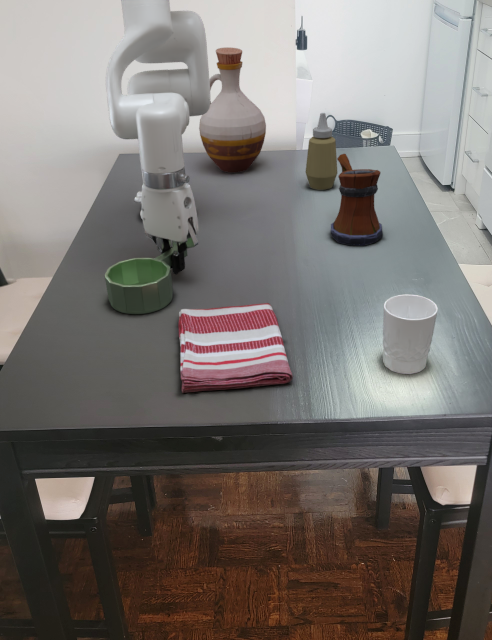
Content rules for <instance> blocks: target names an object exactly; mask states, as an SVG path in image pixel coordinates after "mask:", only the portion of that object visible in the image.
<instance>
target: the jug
mask: <svg viewBox="0 0 492 640" xmlns="http://www.w3.org/2000/svg"><path fill="white" fill-rule="evenodd" d="M215 54H216V57H217V61H218V62H216V66H217V69H218V71H219V73H215V74H213V75H211V77H209V81H210V91H211V90H212V87H213V85H214V83H215V82H216V81H220V82H221V89H220V92H219V93H218V95H216V97H215V98H214V100H213V101H211V100H210V107H209V110H208V111H207V113H205V114H203V115H200V119H199V127H198V130H199V137H200V139H201V142H202V145H203V148H204V150H205V152H206V155H208V157H209V159H210V160H211V161H212V162H213V163H214V165H216V167H217V168H218V169H219V170H220V171H222V172H223V173H230V174H231V173H232V174H234V173H242V172H246V171H248V170H249V169H250V168H251V166H252V165H253V164H254V163H255V161H256V160H257V158H258V157H259V155H260V154H261V151H262V149H263V145H264V144H265V139H266V134H267V123H266V119H265V116H264V114H263V112H262V110H261V109H260V108H259V107H258V106H257V105H256V104H255V103H254V102H253V101H252V100H251V99H250V98H248V97H247V96H246V94H245V93H244V92H243V91H242V90H241V87H240V75H241V70H242V68H243V61H242V55H243V50H242V49H240V48H237V47H218V48H216V49H215Z"/></svg>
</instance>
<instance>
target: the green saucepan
mask: <svg viewBox="0 0 492 640" xmlns="http://www.w3.org/2000/svg"><path fill="white" fill-rule="evenodd" d="M179 245H180V242H179ZM171 255H173V248H171V249H169V250H168V251H166V252H165V253H163V254H161V253H160V254H159V255H158V256H156V257H155V258H154V257H133V258H129V259H125V260H120V261H118V262H116V263H115V264H113V265H111V266H109V267H108V268H107V269H106V272H105V274H104V280H105V286H106V292H107V298H108V301H109V303H110V306H111V308H113V310H115V311H117V312H119V313H123V314H126V315H145V314H150V313H154V312H158V311H160V310H162V309H164V308H165V307H167V306H168V305H170V303H171V302H172V300H173V292H174V289H173V279H172V271H171V270H172V269H170V267H171V266H172V261H171ZM186 257H188V249H187V250H186V251H184V258H185V259H186Z"/></svg>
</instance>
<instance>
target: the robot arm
mask: <svg viewBox="0 0 492 640" xmlns="http://www.w3.org/2000/svg"><path fill="white" fill-rule="evenodd" d="M120 1H121V10H122V18H123V28H124V31H123V36H122V38H121V40H120V41H119V42H118V43H117V45H116V47H115V48H114V50H113V51H112V53H111V55H110V58H109V61H108V63H107V67H106V72H105V92H106V100H107V111H108V119H109V123H110V127H111V130H112V132H113V133H114V135H115V136H116V137H118V138H119V139H122V140H137V146H138V152H139V161H140V169H141V177H142V184H141V191H140V190H139V191H137V192H136V196H135V197H134V199H133V201H134V202H135V203H138V204H141V209H140V212H139V215H140V218H141V219H142V225H143V228H144V233H143V234H144V235H145V236H146V237H147V238H149V239H150V240H152V241H153V243H154V244H155V245H156V249H157V250H158V253H159V252H160V255H161V254H163V253H165V252H166V251H168V250H169V249H171V248H173V255H171V261H172V266H171V267H170V269H171V270H172V271H171V272H172V275H176V276H177V275H178V274H180V273H181V272H183V271H184V270H185V269H186V261H185V259H186V257H185V258H184V251H186V250H187V251H188V249H192V248H194V247H197V246H198V245H199V240H198V237H197V235H198V234H199V229H200V228H199V219H198V212H197V207H196V202H195V197H194V194H193V190H192V187H191V185H190V184H189V182H190V179H191V178H190V177H191V176H190V175H187V174H186V166H185V155H184V146H183V144H184V143H183V135H184V133H185V132H186V129H187V127H188V126H189V124H190V121H191V120H190V119H191V118H190V117H199V116H202V115H203V114H205V113H207V111H208V110H209V107H210V101H211V90H210V81H209V79H210V71H209V69H210V68H209V57H208V45H207V35H206V29H205V24H204V21H203V19H202V18H201V16H200V14H198V13H197V12H195V11H193V10H171V5H170V0H120ZM134 61H136V62H137V63H140V64H170V63H172V64H173V63H183V64H185V65H186V67H187V68H176V69H175V68H173V69H155V70H154V69H153V70H144V71H141V72H137V73H135V74H134V75H131V77H130V78H129V80H128V82H127V86H126V87H127V88H126V90H127V91H126V92H127V94H123V91H122V81H123V76H124V73H125V72H126V69H127V68H128V67H129V65H131V64H132V63H133V62H134ZM179 243H180V245H179Z"/></svg>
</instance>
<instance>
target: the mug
mask: <svg viewBox="0 0 492 640" xmlns="http://www.w3.org/2000/svg"><path fill="white" fill-rule="evenodd" d="M337 162H339V164H340V165H339V166H340V167H341V173H339V174H338V175H337V176H338V177H337V178H338V180H339V184H340V185H339V188H338V190H339V193H340V195H341V197H340V206H339V210H338V213H337V215H336V217H335V220H334V221H333V222H332V223H330V235H331V237H332V238H333V239H334V240H335V241H336V242H337V243H338V244H342V245H347V246H360V247H361V246H362V247H364V246H367V245H371V244H375V243H376V242H378V241H379V240H380V239H382V238H383V236H384V234H383V233H384V232H383V224H382V223H380V221H379V218H378V215H377V211H376V209H375V195H376V193H377V192H378V190H379V187H378V181H379V179H380V175H381V171H380V170H378V169H371V168H370V169H369V168H368V169H367V168H364V169H363V168H360V169H359V168H358V169H353V168H352V165H351V162H350V159H349V157H348V155H347V153H341V154H339V155H338V157H337Z"/></svg>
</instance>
